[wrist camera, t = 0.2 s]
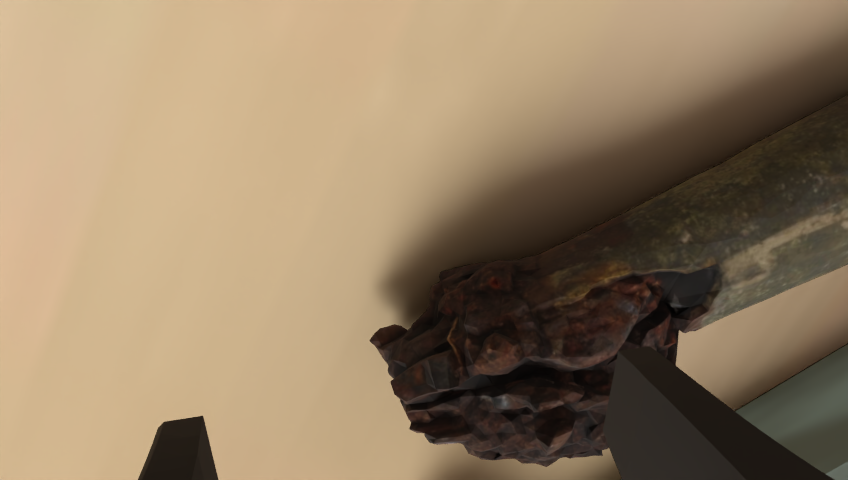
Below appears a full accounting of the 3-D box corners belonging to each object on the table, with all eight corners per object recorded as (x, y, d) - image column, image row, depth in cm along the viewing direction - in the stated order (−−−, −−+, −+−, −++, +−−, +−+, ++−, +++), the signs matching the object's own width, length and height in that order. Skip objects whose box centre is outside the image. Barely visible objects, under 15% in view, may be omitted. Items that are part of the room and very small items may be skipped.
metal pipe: (878, 41, 22) (1048, 118, 18) (877, 209, 26) (1015, 306, 22) (349, 284, 23) (381, 419, 18) (426, 413, 27) (468, 550, 22)
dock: (1047, 250, 29) (1166, 323, 25) (481, 585, 33) (512, 689, 30) (1033, 133, 25) (1170, 198, 22) (400, 526, 30) (424, 635, 26)
